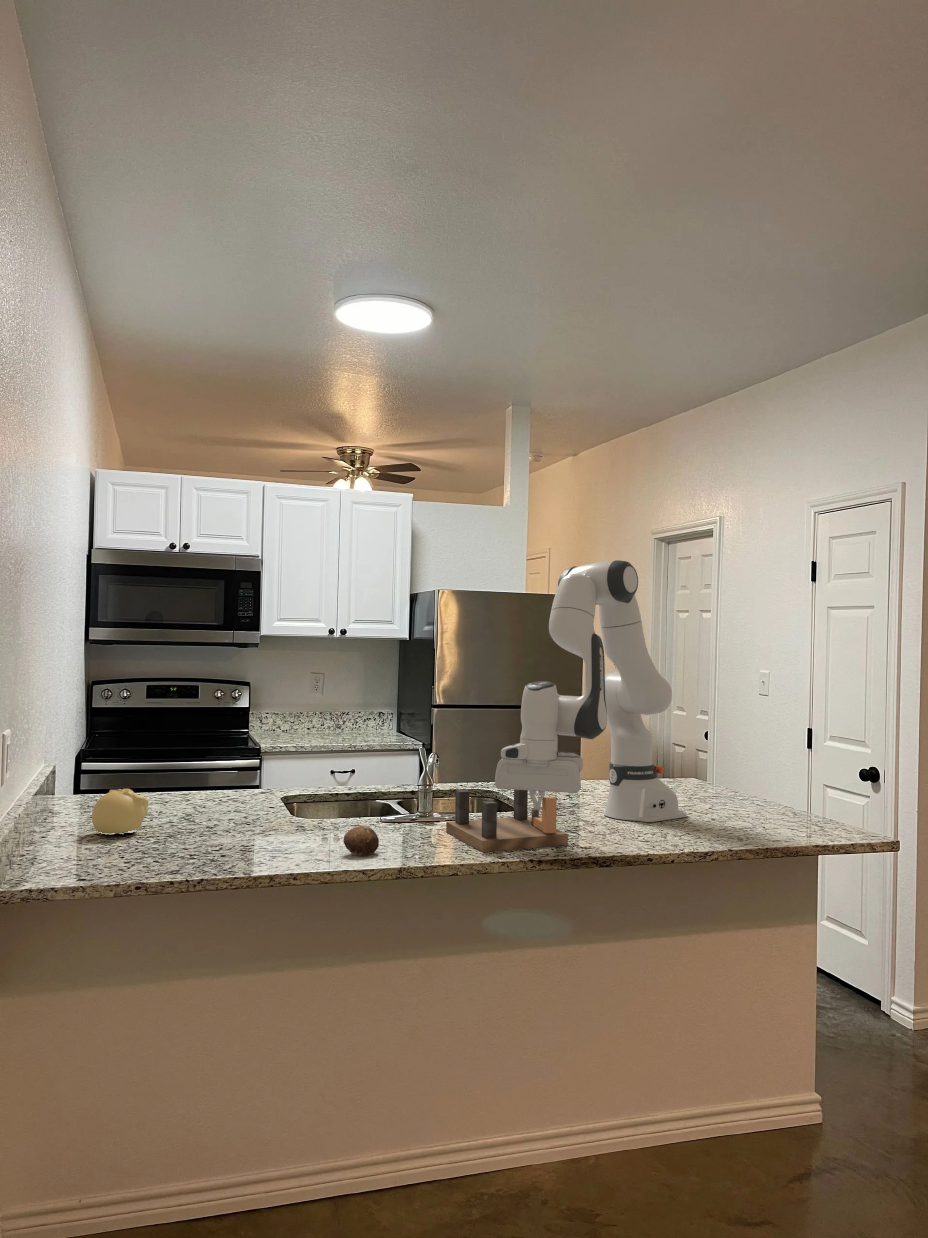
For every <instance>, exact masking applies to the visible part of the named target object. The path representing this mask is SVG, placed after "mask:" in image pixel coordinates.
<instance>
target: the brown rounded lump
mask: <svg viewBox="0 0 928 1238" xmlns="http://www.w3.org/2000/svg"><path fill="white" fill-rule="evenodd" d="M342 842H343V844H344V846H345V848H346V849H347V851H349V852H350V853H351V854H353V855H355V856H360V857H366V856H370V855H373V854H374V853H375V852H376V851H377V850H378V848H379V846H380V845H379V844H380V843H379V842H380V839H379V836H378V834H377V833H376V832H375V831H374V829H372V828H371V827H370V826H365V825H359V826H355V827H352V828H351V829H349V830H348V831H346V833H345V834H344V835H343V841H342Z"/></svg>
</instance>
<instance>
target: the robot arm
mask: <svg viewBox="0 0 928 1238" xmlns="http://www.w3.org/2000/svg"><path fill="white" fill-rule="evenodd" d="M638 585H639V576H638V573H637V570H636V568H635V567H634V566H633V565H632V563H630V562H629V561H627V560H618V559H617V560H613V561H609V560H608V561H596V562H595V561H594V562H592V563H587V564H583V565H578V566H571V567H568V568H566V569H565V570H563V571H562V573H561V574H560V576H559V578H558V581H557V589H556V592H555V595H554V598H553V600H552V606H551V610H550V615H549V621H548V633H549V636H550V638H551V639H552V640H553V642H554V643H555V644H557V646H559V647H560V648H561V649H563V650H565V651H567V652H569V653H571V654H574V655H576V656H578V657H579V658H581V659H582V660H583V661H584V670H585V671H584V672H585V673H584V674H585V675H584V677H585V679H584V681H585V683H584V684H585V685H584V686H585V688H584V693H583V695H581V696H580V695H578V696H577V695H563V694H559V693H558V689H557V685H556V684H555V683H554V682H551V681H544V680H543V681H540V680H539V681H533V682H530V683H527V684H526V685H525V686H524V689H523V692H522V697H521V705H520V706H521V707H520V722H521V733H520V737H519V742H517V743H513V744H512V745H511V744H510V745H507V746H505V747H502V749H501V750H500V757H501V759H500V760H499V761H498V762H497V765H496V768H495V769H496V770H495V777H494V786H495V787H496V788H497V789H498V790H513V791H514V790H528V791H529V792H528V796H529V798H530V799H531V801H532V802H533V803H532V805H533V808H532V809H533V810H539V811H542V799H543V797H546V796H545V795H546V793H547V792H549V793H566V794H570V793H571V794H577V793H579V792H580V791H581V790H582V778H581V776H582V775H581V772H582V770H583V768H584V767H583V765H584V764H583V763H584V762H583V758H582V756H581V755H579V754H577V752H565V751H559V750H558V741H559V739H558V738H559V737H558V735H559V736H567V737H577V738H582V739H586V740H594V739H596V738H597V737H598V736H600V735H601V734H602V733H603V732H604V731H605V730H606V729H607V724H608V728H609V734H610V735H609V736H610V750H611V751H610V762H609V765H608V777H609V778H608V780H609V781H608V782H609V788H608V789H609V791H608V797H607V803H606V806H605V807H606V808H605V810H604V816H606V817H609V818H612V819H616V820H623V821H636V822H643V823H654V822H660V821H667V820H675V819H681V818H687V817H688V813H687V812H686V811H685V810H683V809H680V808H679V802H678V801H679V800H678V796H677V794H676V792H675V791H674V790H673V789H672V788H670V787H669V786H668V785H666V784H665V782H663V781H662V780H661V779H659V778H658V777H659V776H658V774H661V775H663V774H664V773H665V771H666V768H665V767H664V766H661V765H657V766H656V765H654V764H653V736H652V733H651V732H650V731H649V730H648V729H647V728H646V726H645V723H644V721H643V718H642V715H644V716H645V715H647V716H649V715H655V714H661V713H663V712H665V711H666V710H668V708H669V707H670V705H671V703H672V700H673V691H672V687H671V684H670V683H669V681H668V680H666V679H665V678H664V677H663V675H661V674H660V673H659V670H658V669H657V668H656V666H655V665H654V662H653V660H652V657H651V656H650V653H649V650H648V648H647V643H646V639H645V634H644V627H643V622H642V621H643V620H642V617H641V612H640V607H639V603H638V600H637V598H636V593H637V590H638V587H639V586H638ZM596 606H598V615H599V616H598V617H599V625H600V630H601V635H602V638H601V636H600V635H598V634H596V631H595V626H594V625H595V624H594V623H595V621H594V620H595V616H596V615H595V613H596ZM605 655H606V657H607V658H608V659H609V660H610V661H611V662H612V663H613V665H614V667H615V668H616V670H617V671H614V672H609V673H605V671H606V670H605V669H606V666H605ZM537 792H538V793H537ZM536 795H538V796H540V797H539V798H538V800H537V798H536Z"/></svg>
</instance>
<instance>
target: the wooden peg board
mask: <svg viewBox="0 0 928 1238" xmlns="http://www.w3.org/2000/svg"><path fill="white" fill-rule="evenodd" d="M528 791H529V790H513V816H510V817H509V816H507V817H498V803H497V802H496V801H493V800H488V801H485V800H484V801H481V819H470V792H471V791H470V790H468V789H457V790H456V789H455V801H454V802H455V813H454V815H455V816H454V820H453V821H452V820H451V821H446V822H445V823H446V824H445V832H446V833H448V834H449V835H451V836H453V837H454V838H456V839H458V840H459V841H462V842H464V843H465V844H467V845H469V846H470V847H473V848H474V849H476V850H478V851H479V852H481V853H487V852H498V851H509V850H510V851H511V850H520V849H521V850H522V849H531V848H543V847H544V848H545V847H554V846H555V847H556V846H566V845H567V846H568V844H569V833H568V832H564V831H562V830H560V829H557V828H556V833H544V832H542V830H540V829H538V828H537V827H535V826H533V824H534V817H540V810H533V808H531V817H530V816H529V817H528V815H529V813H528V808H529V806H528V805H529V804H528V803H529V799H528V797H529V792H528Z"/></svg>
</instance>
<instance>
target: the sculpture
mask: <svg viewBox="0 0 928 1238" xmlns="http://www.w3.org/2000/svg"><path fill="white" fill-rule="evenodd" d="M148 807H149V800H148V798H147V797H146V796H143V795H140V794H138V793H135V792H134V791H133V789H130V788H122V789H121V788H118V789H109V791H108V792H107V793H106V794H104V795H102V796H101V797H100V798H99V799H97V801H96V802H95V804H94V806H93V809H92V812H91V822H92V826H93V828H94V829H95V831H96V832H97V831H98V832H102V833H122V832H128V831H132V830H135V829H138V828H139V827H142V824H143V822H144V819H145V818H146V817H147V816H148V811H149V809H148ZM139 829H140V828H139ZM139 829H138V830H139ZM98 832H97V833H98Z"/></svg>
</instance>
